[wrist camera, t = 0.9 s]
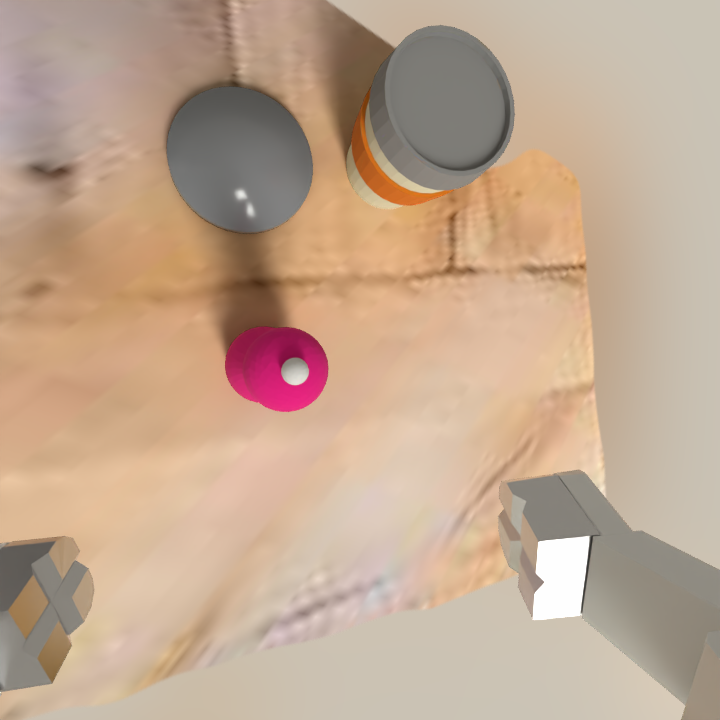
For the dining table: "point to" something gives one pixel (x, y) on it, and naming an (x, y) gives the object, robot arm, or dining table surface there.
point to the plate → (239, 160)
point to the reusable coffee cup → (430, 119)
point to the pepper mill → (277, 367)
